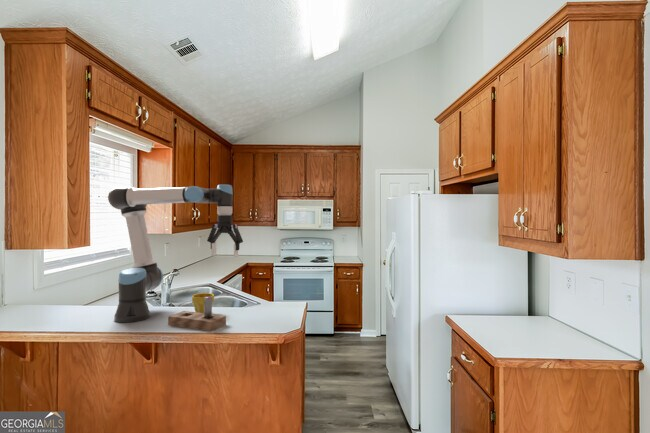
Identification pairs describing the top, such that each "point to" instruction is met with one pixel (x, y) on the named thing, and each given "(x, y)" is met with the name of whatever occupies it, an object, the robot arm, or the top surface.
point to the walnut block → (196, 320)
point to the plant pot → (200, 301)
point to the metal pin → (208, 308)
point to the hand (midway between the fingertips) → (224, 256)
